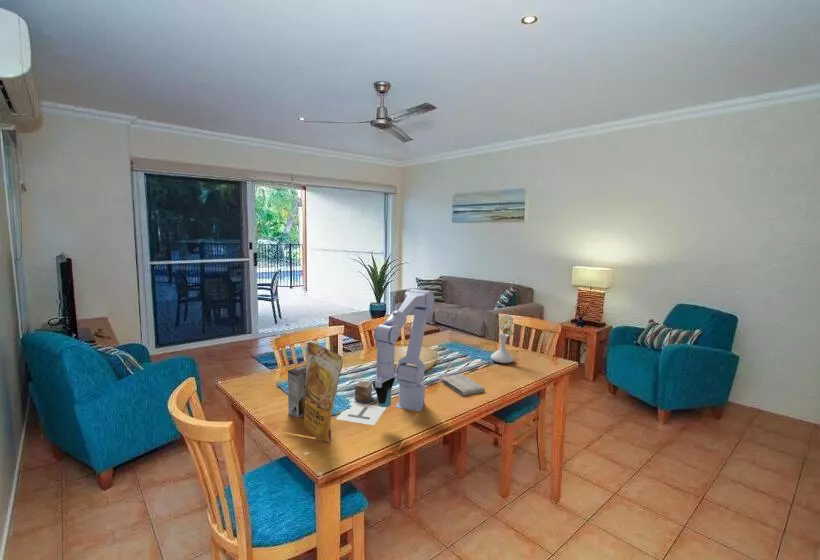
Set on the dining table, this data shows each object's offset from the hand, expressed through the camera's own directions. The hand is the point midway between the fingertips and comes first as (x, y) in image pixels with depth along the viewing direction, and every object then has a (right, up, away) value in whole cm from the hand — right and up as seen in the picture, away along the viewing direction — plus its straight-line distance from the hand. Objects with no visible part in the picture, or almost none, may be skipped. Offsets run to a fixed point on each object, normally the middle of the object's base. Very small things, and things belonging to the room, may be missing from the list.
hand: (384, 399), depth 136 cm
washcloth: (+30, -6, +37) cm, 49 cm away
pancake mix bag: (-21, -9, -3) cm, 23 cm away
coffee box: (-29, -7, +9) cm, 31 cm away
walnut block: (-9, -6, +22) cm, 24 cm away
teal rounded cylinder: (0, -2, 0) cm, 2 cm away
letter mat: (-9, -8, +9) cm, 15 cm away
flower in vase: (+55, -2, +70) cm, 89 cm away
